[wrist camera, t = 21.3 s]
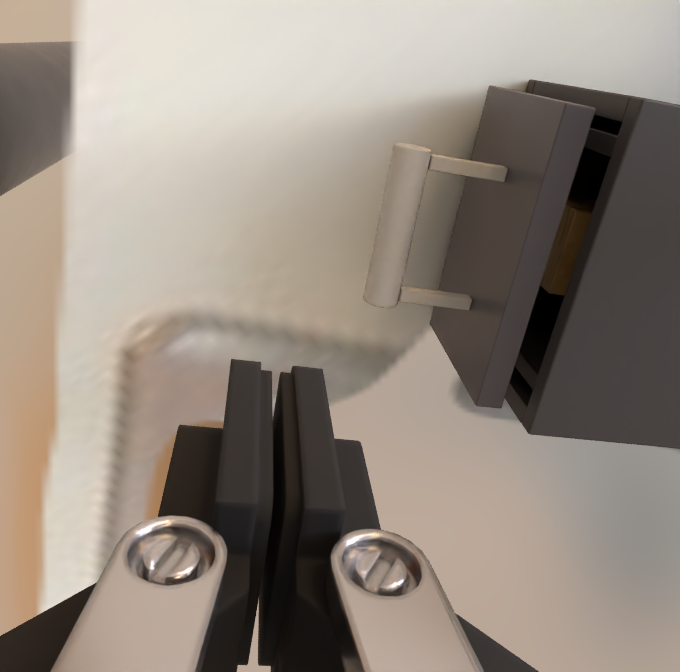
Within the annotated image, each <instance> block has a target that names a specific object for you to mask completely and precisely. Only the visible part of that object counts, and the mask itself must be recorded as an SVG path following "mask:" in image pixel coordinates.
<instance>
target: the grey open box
mask: <svg viewBox="0 0 680 672" xmlns="http://www.w3.org/2000/svg"><path fill="white" fill-rule="evenodd" d="M526 93H530V94H534V95H539V96H543V97H548V98H553V99H557V100H562V101H566V102H571V103H575V104H580V105H585V106H589V107H594V108H595V109H596V110H595V113H594V117H593V120H592V123H597V124H602V125H608V126H613V127H619V128H620V131H619V134H618V137H617V140H616V143H615V146H614V149H613V152H612V155H611V158H610V161H609V164H608V167H607V170H606V173H605V176H604V179H603V182H602V185H601V188H600V191H599V194H598V197H597V200H596V203H595V206H594V209H593V212H592V215H591V218H590V221H589V224H588V227H587V230H586V233H585V236H584V239H583V242H582V245H581V248H580V251H579V254H578V257H577V260H576V263H575V266H574V269H573V272H572V275H571V278H570V281H569V284H568V287H567V290H566V293H565V296H564V299H563V302H562V305H561V308H560V311H559V314H558V317H557V320H556V323H555V326H554V329H553V332H552V335H551V338H550V341H549V344H548V347H547V350H546V353H545V356H544V359H543V362H542V365H541V368H540V371H539V374H538V377H537V379H536V382H535V385H534V388H533V389H532V388H531V387H530V385H529V384H528V383H527V381H526V380H525V379H524V377H523V376H522V375H521V373H520V372H519V371H518V369H517V368H516V367H514V370H513V373H512V376H511V379H510V382H509V386H508V389H507V392H506V395H505V399H506V401H507V402H508V404H509V405H510V407H511V408H512V410H513V412H514V413H515V415H516V416H517V418H518V419H519V421H520V422H521V423H522V425H523V426H524V428H525V429H526V430H527V432H528V433H529V434H533V435H544V436H555V437H564V438H575V439H585V440H596V441H606V442H616V443H627V444H637V445H648V446H658V447H669V448H679V449H680V105H677V104H672V103H667V102H661V101H656V100H651V99H646V98H640V97H634V96H628V95H622V94H616V93H610V92H604V91H598V90H591V89H585V88H579V87H573V86H567V85H561V84H555V83H549V82H543V81H537V80H529V83H528V86H527V90H526Z"/></svg>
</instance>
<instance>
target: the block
mask: <svg viewBox="0 0 680 672" xmlns="http://www.w3.org/2000/svg"><path fill="white" fill-rule="evenodd" d="M595 203H596V200H593V199H587V198H581V197H575V196H568V199H567V202H566V205H565V208H564V212H563V215H562V218H561V221H560V224H559V227H558V231H557V234H556V237H555V240H554V243H553V246H552V249H551V253H550V256H549V259H548V262H547V265H546V268H545V272H544V275H543V278H542V281H541V284H540V285H541V286H542V287H543V288H544V289H545V290H546V291H547V292H548V293H550V294H557V295H564V296H565V293H566V290H567V287H568V284H569V281H570V278H571V275H572V272H573V269H574V266H575V263H576V260H577V257H578V254H579V251H580V248H581V245H582V242H583V239H584V236H585V233H586V230H587V227H588V224H589V221H590V218H591V215H592V212H593V209H594V206H595Z"/></svg>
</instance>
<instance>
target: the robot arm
mask: <svg viewBox="0 0 680 672" xmlns="http://www.w3.org/2000/svg"><path fill="white" fill-rule="evenodd" d="M258 599H259V631H258V632H259V634H258V635H259V636H258V638H259V639H258V664H259V665H262V666H271V672H538V671H537V670H535V669H534V668H533V667H531V666H530V665H528V664H527V663H526V662H524V661H523V660H521V659H520V658H519V657H517V656H516V655H514V654H513V653H511V652H510V651H508V650H507V649H505V648H504V647H503V646H501V645H500V644H498V643H497V642H496V641H494V640H493V639H491V638H490V637H488V636H487V635H486V634H484V633H483V632H481V631H480V630H479V629H477V628H475V627H474V626H473V625H471V624H470V623H469V622H467V621H466V620H464V619H463V618H461V617H460V616H459V615H457V614H456V613H455V612H454V610H453V608H452V606H451V604H450V602H449V600H448V598H447V596H446V594H445V592H444V590H443V588H442V586H441V584H440V582H439V580H438V578H437V576H436V574H435V572H434V570H433V568H432V566H431V564H430V562H429V560H428V559H427V558H426V556H425V555H424V553H423V552H422V551H421V550H420V549H419V548H418V547H416V546H415V545H414V544H413V543H412V542H411V541H409V540H407V539H405V538H403V537H401V536H400V535H397V534H395V533H391V532H388V531H384V530H381V528H380V524H379V519H378V515H377V511H376V506H375V502H374V498H373V493H372V489H371V485H370V480H369V476H368V472H367V467H366V463H365V459H364V454H363V449H362V446H361V443H360V442H359V441H354V440H343V439H334V434H333V428H332V423H331V417H330V410H329V404H328V398H327V392H326V386H325V380H324V374H323V369H319V368H309V367H300V366H293V367H292V370H291V373H284V372H281V373H280V377H279V383H278V390H277V396H276V403H275V410H274V416H273V423H272V371H265V370H261V362H254V361H244V360H235V359H231V366H230V375H229V383H228V392H227V400H226V409H225V418H224V426H223V429H221V428H210V427H199V426H187V425H179V427H178V431H177V435H176V440H175V444H174V448H173V453H172V457H171V462H170V466H169V470H168V475H167V479H166V483H165V488H164V492H163V496H162V501H161V505H160V510H159V514H158V517H157V518H153V519H150V520H147V521H144V522H142V523H139V524H137V525H136V526H135V527H133V528H132V529H130V530H129V531H127V532H126V533H125V534H124V536H123V537H122V538H121V540H120V541H119V542H118V543H117V545H116V547H115V549H114V551H113V553H112V555H111V557H110V559H109V561H108V563H107V564H106V566H105V568H104V570H103V572H102V574H101V576H100V578H99V580H98V582H97V583H95V584H93V585H91V586H90V587H88V588H86V589H84V590H82V591H81V592H79V593H77V594H75V595H73V596H72V597H70V598H68V599H66V600H64V601H63V602H61V603H59V604H57V605H55V606H54V607H52V608H50V609H48V610H46V611H45V612H43V613H41V614H39V615H37V616H36V617H34V618H32V619H30V620H28V621H27V622H25V623H23V624H21V625H19V626H18V627H16V628H14V629H12V630H11V631H9V632H7V633H5V634H3V635H1V636H0V672H237V666H238V665H247V664H248V660H249V654H250V647H251V642H252V635H253V629H254V623H255V617H256V610H257V605H258Z"/></svg>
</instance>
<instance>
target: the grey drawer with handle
mask: <svg viewBox="0 0 680 672" xmlns="http://www.w3.org/2000/svg"><path fill="white" fill-rule="evenodd" d="M595 110H596V109H595V108H594V107H589V106H585V105H580V104H575V103H571V102H566V101H562V100H557V99H553V98H548V97H543V96H539V95H534V94H530V93H525V92H521V91H516V90H511V89H506V88H501V87H496V86H489V88H488V92H487V96H486V100H485V104H484V108H483V112H482V116H481V120H480V124H479V128H478V132H477V136H476V140H475V144H474V148H473V152H472V156H471V160H465V159H459V158H453V157H447V156H441V155H435V154H431V150H430V149H428V148H425V147H422V146H417V145H413V144H407V143H395V144H394V146H393V151H392V156H391V161H390V166H389V171H388V176H387V181H386V186H385V191H384V196H383V201H382V206H381V211H380V216H379V221H378V226H377V231H376V236H375V241H374V246H373V251H372V256H371V261H370V266H369V271H368V276H367V281H366V286H365V291H364V296H363V298H364V300H365V301H366V302H367V303H369V304H371V305H374V306H378V307H383V308H392V307H395V306H396V305H397V304H398V300H399V301H400V302H407V303H415V304H423V305H430V306H434V309H433V313H432V317H431V321H430V325H431V327H432V328H433V330H434V332H435V334H436V335H437V337H438V339H439V341H440V343H441V344H442V346H443V348H444V350H445V352H446V353H447V355H448V357H449V359H450V360H451V362H452V364H453V366H454V368H455V369H456V371H457V373H458V375H459V376H460V378H461V380H462V382H463V383H464V385H465V387H466V389H467V391H468V392H469V394H470V396H471V398H472V399H473V401H474V403H475V405H476V406H482V407H492V408H502V405H503V401H504V398H505V395H506V392H507V389H508V386H509V382H510V379H511V376H512V373H513V370H514V367H516V368H517V369H518V371H519V372H520V373H521V375H522V376H523V377H524V379H525V380H526V381H527V383H528V384H529V385H530V387H531V388H532V389H533V388H534V385H535V382H536V379H537V377H538V374H539V371H540V368H541V365H542V362H543V359H544V356H545V353H546V350H547V347H548V344H549V341H550V338H551V335H552V332H553V329H554V326H555V323H556V320H557V317H558V314H559V311H560V308H561V305H562V302H563V299H564V295H557V294H550V293H548V292H547V291H546V290H545V289H544V288H543V287H542V286H541V285H540V284H541V281H542V278H543V275H544V272H545V268H546V265H547V262H548V259H549V256H550V253H551V249H552V246H553V243H554V240H555V237H556V234H557V231H558V227H559V224H560V221H561V218H562V215H563V212H564V208H565V205H566V202H567V199H568V196H575V197H581V198H587V199H593V200H597V197H598V194H599V191H600V188H601V185H602V182H603V179H604V176H605V173H606V170H607V167H608V164H609V161H610V158H611V155H612V152H613V149H614V146H615V143H616V140H617V137H618V134H619V131H620V128H619V127H613V126H608V125H602V124H597V123H592V120H593V117H594V113H595ZM428 169H429V170H432V171H438V172H444V173H450V174H457V175H463V176H466V180H465V184H464V188H463V192H462V196H461V200H460V204H459V208H458V212H457V216H456V220H455V224H454V228H453V233H452V237H451V241H450V245H449V249H448V253H447V257H446V261H445V265H444V269H443V273H442V277H441V281H440V285H439V289H438V291H436V290H428V289H420V288H413V287H405V286H402V281H403V277H404V272H405V268H406V264H407V259H408V255H409V250H410V246H411V241H412V237H413V232H414V228H415V223H416V219H417V214H418V210H419V206H420V201H421V197H422V192H423V188H424V183H425V179H426V174H427V170H428Z"/></svg>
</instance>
